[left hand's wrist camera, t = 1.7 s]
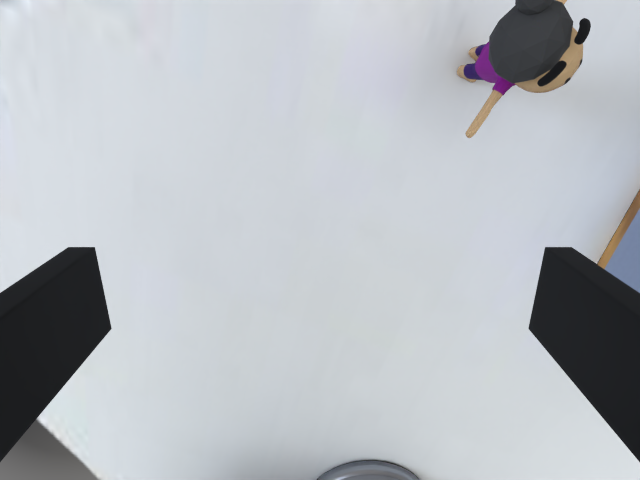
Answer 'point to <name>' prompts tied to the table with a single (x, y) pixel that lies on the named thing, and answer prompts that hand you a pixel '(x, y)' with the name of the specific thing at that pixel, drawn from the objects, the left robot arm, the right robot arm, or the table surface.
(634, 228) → the blue-grey rectangular block
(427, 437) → the table surface
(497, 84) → the toy
